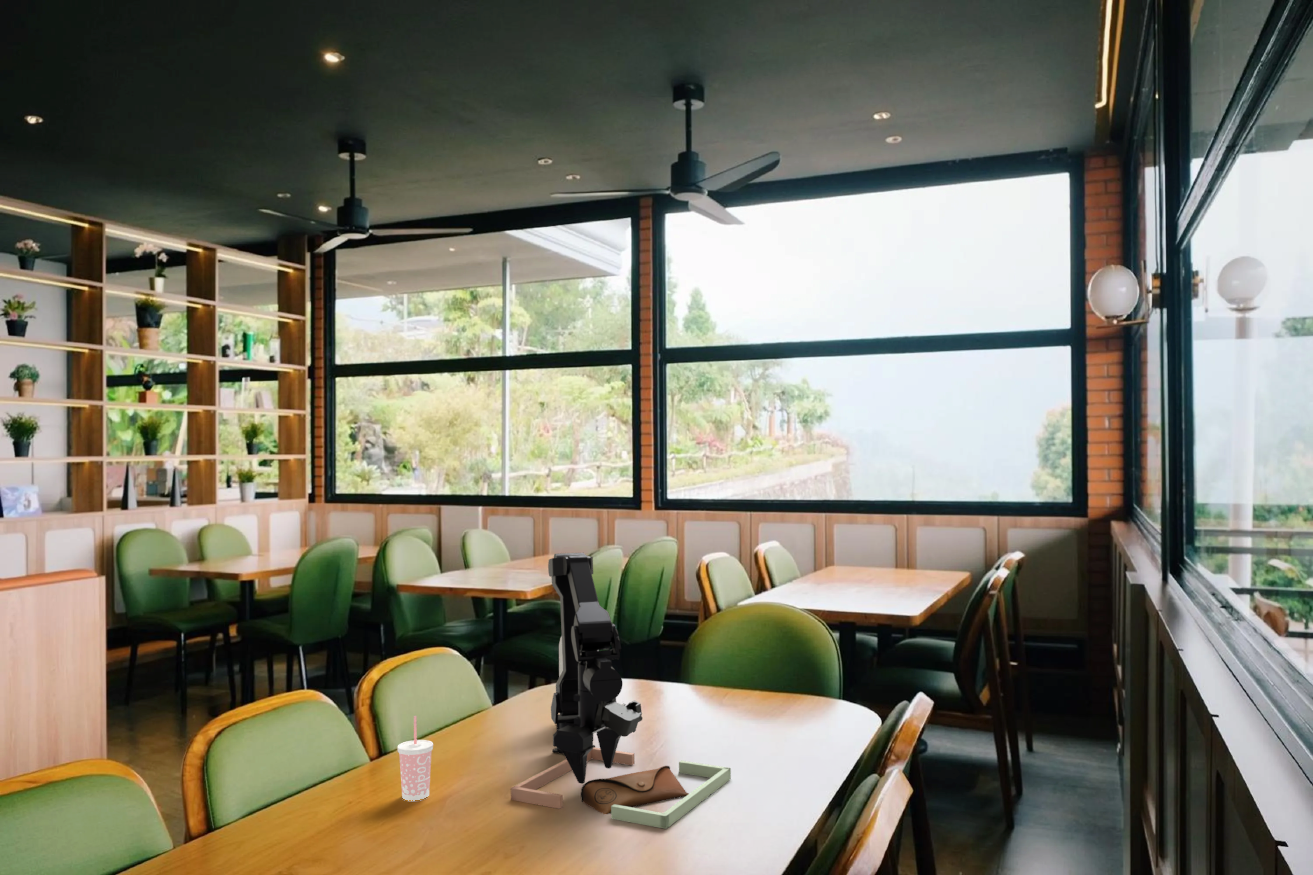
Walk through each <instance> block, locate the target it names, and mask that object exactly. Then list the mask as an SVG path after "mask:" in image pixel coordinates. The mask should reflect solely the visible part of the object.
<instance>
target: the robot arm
mask: <svg viewBox="0 0 1313 875" xmlns="http://www.w3.org/2000/svg"><path fill="white" fill-rule="evenodd" d="M593 559H594V557H593V556H590V555H587V554H585V553H584V552H567V553H566V552H565V553H564V552H563V553H562V552H561V553H554V555H553V557H552V558H549V559H548V562H547V563H548V564H547V568H548V570H547V572H548V576H549V577H551V585H552V588H553V589H554V590H555V591H556V593H557V595H558V596H559V602H560V622H561V623H560V624H561V625H560V626H561V636H562V655H563V671H562V673H561V675H560V677H558V679H557V680H556V684H555V692H554V693H553V695H552V702H551V704H550V715H551V716H550V717H551V720H552V722H553V724H554V725H556V731H555V732H554V733H553V734H552V746H553V747H554V748H553V749H551V750H552V753H554V754H555V753H556V754H562V755H563V756H564V757H565V759H567V761H568V763H569V765H570V767H571V769H572V770H571V771H572V772H573V774H574V777H575V779H576V780H577V783H578V784H581V785H584V784H585V783H586V775H587V764H588V763H587V762H588V761H587V755H588V753H589V752H590V751H591V750H592V749H593V748H594V747H595V748H596V745H595V744H594V735H595V734H596V736H597V740H598V745H599V748H600V750H601V754H602V758H603V761H602V762H603V765H604V768H606V769H611V768H612V766H613V763H614V762H613V759H614V756H615V752H616V751H617V749H618V745H619V742H620V740H621V737H624V738H625V737H628V736H629V735H630V734H632V733H635V732H636V731H637V728H638V725H639V723H640V722H642V721H643V716H642V714H643V713H642V706H641V702H639V701H637V700H632V701H630V702H629V703H628V704H626V703H622V704H621V703H619V702H617V697H618V696H619V695H620V693H621V692H622V689H623V679H622V676H621V675H620V673H619V672H618V671H617V670H616V669H615V668H614V667H613V662H612V660H620V659H621V655H620V654H621V653H622V646H621V640H620V636H619V631H618V629H617V628H616V624H614V623H613V622H612V619H611V617H610V613H609V612H608V611H607V609H604V608H603V607H602V606H601V605H600V601H599V598H598V594H597V590H596V587H595V582H594V579H593V575H594V560H593ZM598 650H599V651H598Z"/></svg>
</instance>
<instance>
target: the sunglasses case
mask: <svg viewBox="0 0 1313 875" xmlns="http://www.w3.org/2000/svg"><path fill="white" fill-rule="evenodd" d="M688 794H690V793H688V792H687V791H686V789H684V787H683V786H682V784H681V782H680V781H679V780H678V778H677V777H676V776H675V774H674V773H673V771H672V770H671V767H670V765H663V766H661V767H658V768H654V769H649V770H643V771H637V772H632V773H627V774H621V775H617V776H613V777H607V778H606V777H605V778H595V779H591V780H588V781H585V783H583V784H582V787H581V790H580V799H581V802H582V803H584V804H585V805H587V806H588V807H591V808H592V809H593V810H595V811H597V813H598V812H599V813H600V814H603V815H605V816H606V815H609V814H611V806H612V805H614V804H616V805H621V806H627V807H632V808H638V807H641V806H645V805H650V804H655V803H660V802H664V801H668V800H674V798H675V799H679V797H680V798H684V797H686V796H687V795H688Z"/></svg>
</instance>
